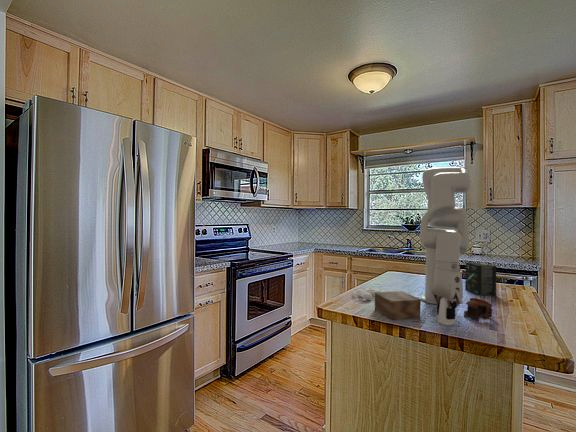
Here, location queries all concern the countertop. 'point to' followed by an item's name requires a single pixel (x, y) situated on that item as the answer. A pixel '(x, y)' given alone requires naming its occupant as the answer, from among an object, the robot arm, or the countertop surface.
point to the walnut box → (397, 305)
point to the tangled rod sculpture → (366, 293)
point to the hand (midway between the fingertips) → (445, 316)
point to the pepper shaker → (444, 313)
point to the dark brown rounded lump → (478, 309)
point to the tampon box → (480, 278)
